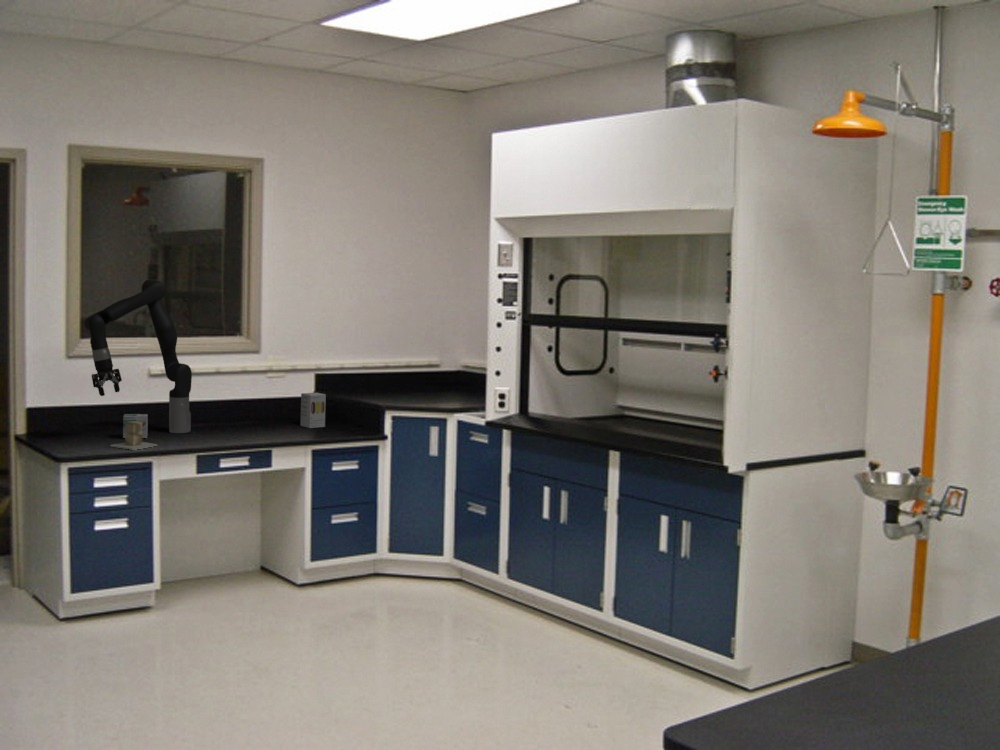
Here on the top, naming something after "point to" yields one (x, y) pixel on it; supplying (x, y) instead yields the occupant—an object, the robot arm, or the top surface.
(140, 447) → the sage tile
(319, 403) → the supplement box
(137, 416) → the light bulb box
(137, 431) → the beech block
